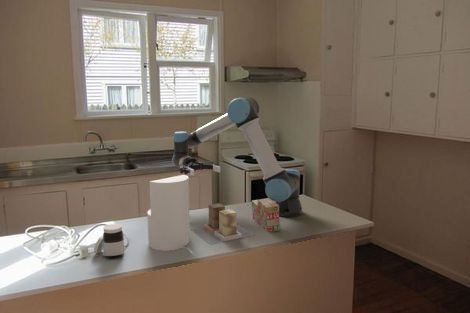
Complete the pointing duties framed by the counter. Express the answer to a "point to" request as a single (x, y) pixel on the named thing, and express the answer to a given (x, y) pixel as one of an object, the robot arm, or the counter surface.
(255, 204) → the stack of blocks
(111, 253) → the spread jar
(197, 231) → the board
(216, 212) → the walnut pillar
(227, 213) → the oak pillar
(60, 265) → the counter surface
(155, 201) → the cylinder
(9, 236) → the counter surface
